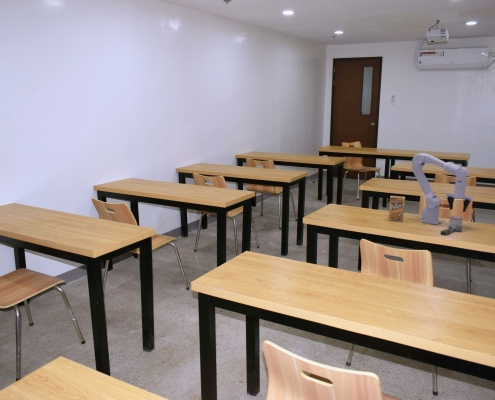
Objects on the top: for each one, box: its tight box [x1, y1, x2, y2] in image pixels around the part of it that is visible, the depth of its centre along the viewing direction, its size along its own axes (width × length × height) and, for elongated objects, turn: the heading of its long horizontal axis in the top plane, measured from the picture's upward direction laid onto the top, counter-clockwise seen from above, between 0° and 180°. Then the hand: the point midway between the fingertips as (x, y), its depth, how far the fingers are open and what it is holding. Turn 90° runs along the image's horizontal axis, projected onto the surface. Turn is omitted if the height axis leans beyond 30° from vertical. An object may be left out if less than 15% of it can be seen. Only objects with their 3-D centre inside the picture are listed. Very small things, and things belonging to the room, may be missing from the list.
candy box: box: [387, 195, 406, 223], centre depth 273 cm, size 9×4×15 cm, turn 70°
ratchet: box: [439, 225, 463, 237], centre depth 250 cm, size 7×19×5 cm, turn 132°
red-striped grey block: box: [448, 215, 464, 228], centre depth 253 cm, size 5×5×6 cm
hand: (457, 210), depth 260 cm, fingers open, 7 cm apart
